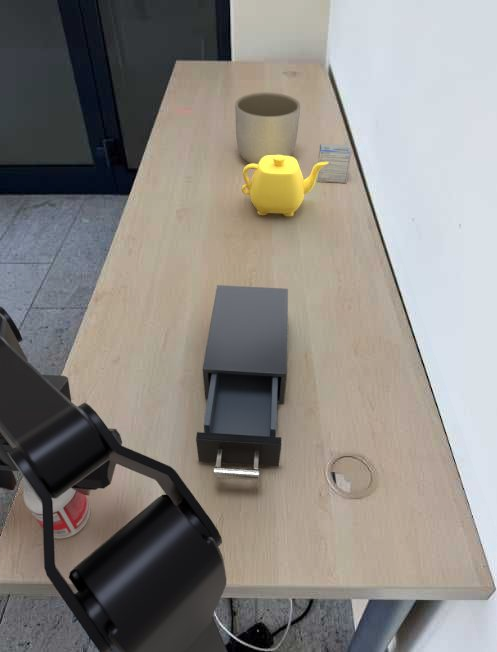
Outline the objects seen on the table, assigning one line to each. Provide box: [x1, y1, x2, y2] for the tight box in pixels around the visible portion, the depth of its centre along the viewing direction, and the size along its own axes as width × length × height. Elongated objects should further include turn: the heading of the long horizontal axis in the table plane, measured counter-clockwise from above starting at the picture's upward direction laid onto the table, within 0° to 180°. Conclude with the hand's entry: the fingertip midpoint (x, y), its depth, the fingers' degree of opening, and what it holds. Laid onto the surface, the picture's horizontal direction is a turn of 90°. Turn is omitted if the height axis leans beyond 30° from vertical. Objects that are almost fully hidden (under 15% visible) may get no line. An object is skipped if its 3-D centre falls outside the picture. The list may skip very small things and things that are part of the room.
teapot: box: [241, 155, 329, 217], centre depth 115 cm, size 14×20×13 cm
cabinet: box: [202, 284, 289, 405], centre depth 82 cm, size 20×13×8 cm, turn 176°
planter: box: [234, 91, 301, 164], centre depth 132 cm, size 17×17×15 cm
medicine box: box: [316, 143, 352, 184], centre depth 127 cm, size 8×4×9 cm, turn 85°
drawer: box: [195, 373, 282, 482], centre depth 72 cm, size 23×11×6 cm, turn 176°
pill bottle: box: [21, 476, 91, 539], centre depth 60 cm, size 6×6×11 cm
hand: (51, 488), depth 58 cm, fingers open, 9 cm apart
